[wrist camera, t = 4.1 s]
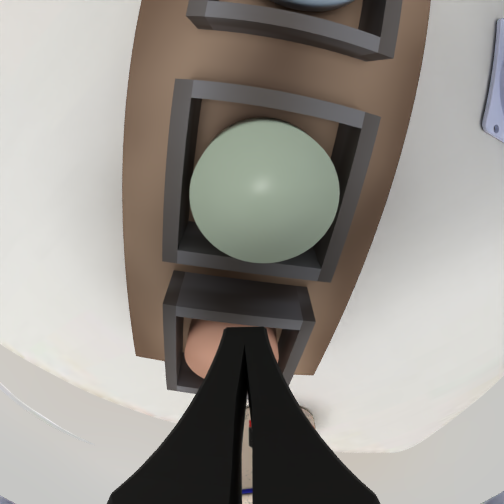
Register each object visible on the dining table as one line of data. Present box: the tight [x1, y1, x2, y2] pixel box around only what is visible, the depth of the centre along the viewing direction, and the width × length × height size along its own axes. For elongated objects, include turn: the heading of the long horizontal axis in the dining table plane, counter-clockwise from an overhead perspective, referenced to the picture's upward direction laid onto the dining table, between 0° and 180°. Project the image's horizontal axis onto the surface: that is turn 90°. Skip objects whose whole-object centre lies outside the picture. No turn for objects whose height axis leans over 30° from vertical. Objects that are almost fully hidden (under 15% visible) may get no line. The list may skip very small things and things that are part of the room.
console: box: [122, 0, 431, 399], centre depth 12 cm, size 12×26×5 cm, turn 171°
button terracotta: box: [185, 319, 279, 378], centre depth 16 cm, size 5×5×2 cm
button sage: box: [189, 117, 340, 263], centre depth 10 cm, size 5×5×2 cm
